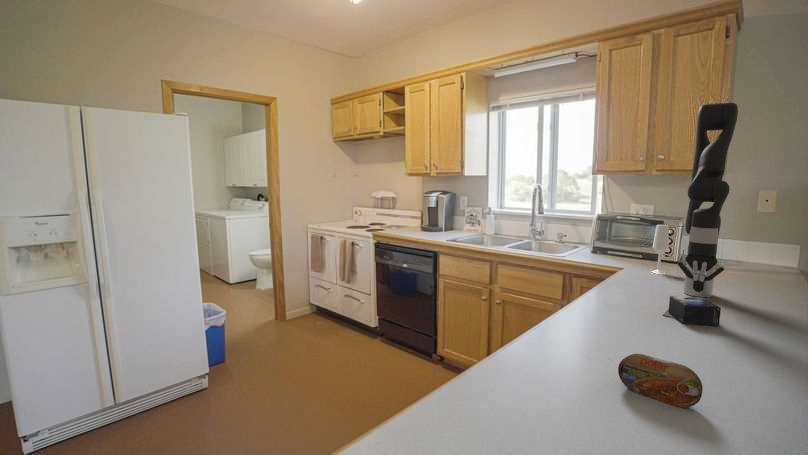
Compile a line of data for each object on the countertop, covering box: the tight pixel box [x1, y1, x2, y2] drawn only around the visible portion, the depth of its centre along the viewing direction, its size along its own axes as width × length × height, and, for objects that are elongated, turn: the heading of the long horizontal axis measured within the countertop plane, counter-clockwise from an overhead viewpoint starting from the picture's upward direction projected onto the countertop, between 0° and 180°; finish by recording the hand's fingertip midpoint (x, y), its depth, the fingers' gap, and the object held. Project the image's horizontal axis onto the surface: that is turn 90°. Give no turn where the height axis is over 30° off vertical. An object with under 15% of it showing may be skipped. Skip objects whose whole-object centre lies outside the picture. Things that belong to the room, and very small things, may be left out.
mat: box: [662, 308, 676, 319], centre depth 133 cm, size 14×10×1 cm
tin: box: [617, 353, 704, 408], centre depth 82 cm, size 15×3×8 cm, turn 46°
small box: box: [667, 295, 722, 327], centre depth 127 cm, size 11×6×10 cm
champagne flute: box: [651, 224, 670, 275], centre depth 190 cm, size 7×7×24 cm
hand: (697, 291), depth 130 cm, fingers closed
